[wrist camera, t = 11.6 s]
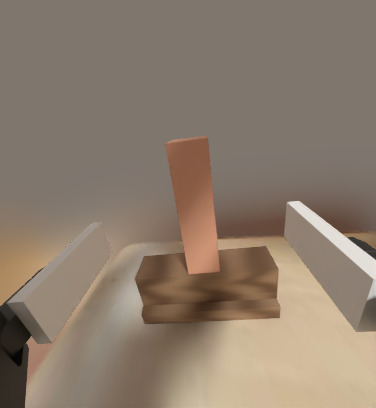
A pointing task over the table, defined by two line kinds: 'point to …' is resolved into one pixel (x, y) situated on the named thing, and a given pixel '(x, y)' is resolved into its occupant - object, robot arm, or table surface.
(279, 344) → the table surface
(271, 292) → the brown wooden block
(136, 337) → the table surface
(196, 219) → the rod
